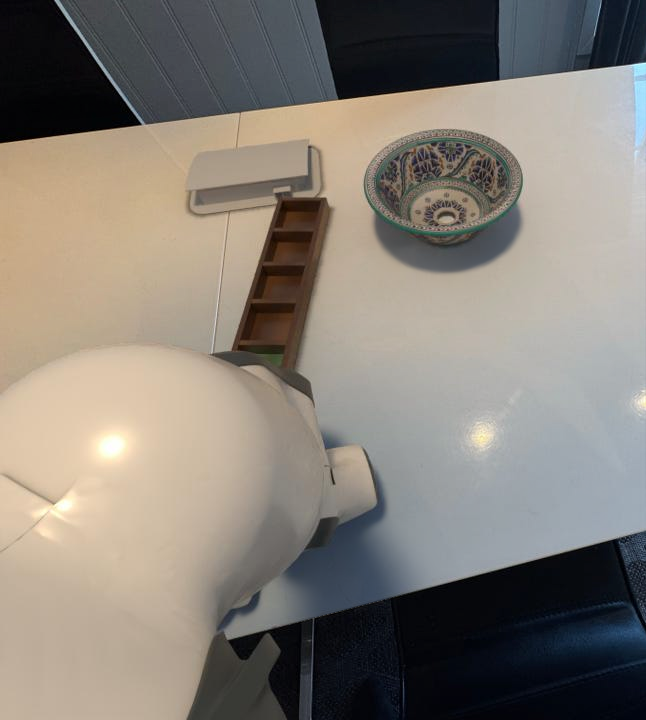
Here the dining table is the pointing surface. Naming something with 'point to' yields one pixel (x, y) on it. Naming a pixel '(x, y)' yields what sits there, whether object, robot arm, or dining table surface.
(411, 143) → the bowl
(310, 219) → the rack
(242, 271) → the dining table surface
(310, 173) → the grey hinged lid tray
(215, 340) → the dining table surface
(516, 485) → the dining table surface
